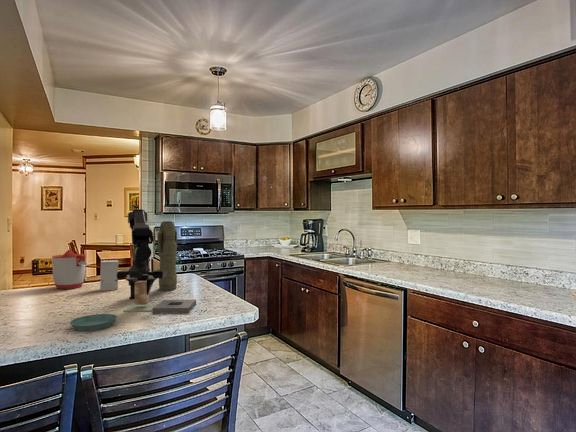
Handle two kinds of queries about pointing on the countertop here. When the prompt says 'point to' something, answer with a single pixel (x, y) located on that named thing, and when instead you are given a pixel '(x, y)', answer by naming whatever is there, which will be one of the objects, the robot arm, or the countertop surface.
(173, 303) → the grey flat square slab
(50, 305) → the countertop surface
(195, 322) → the countertop surface
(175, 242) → the thermos
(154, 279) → the robot arm
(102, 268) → the skincare box
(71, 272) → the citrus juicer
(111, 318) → the saucer
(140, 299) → the wooden plug
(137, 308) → the rubber mat
